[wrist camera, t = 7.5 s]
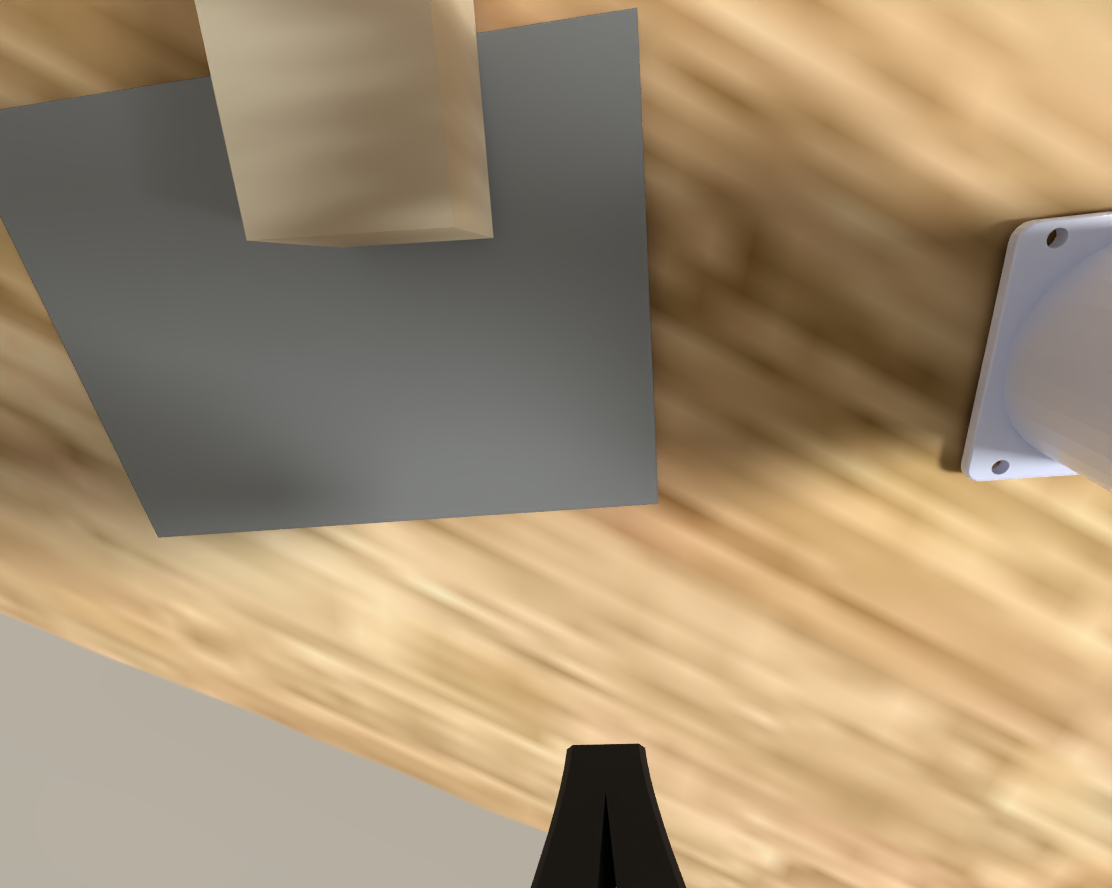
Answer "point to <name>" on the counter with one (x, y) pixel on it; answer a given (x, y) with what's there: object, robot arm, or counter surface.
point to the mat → (356, 307)
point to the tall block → (351, 119)
